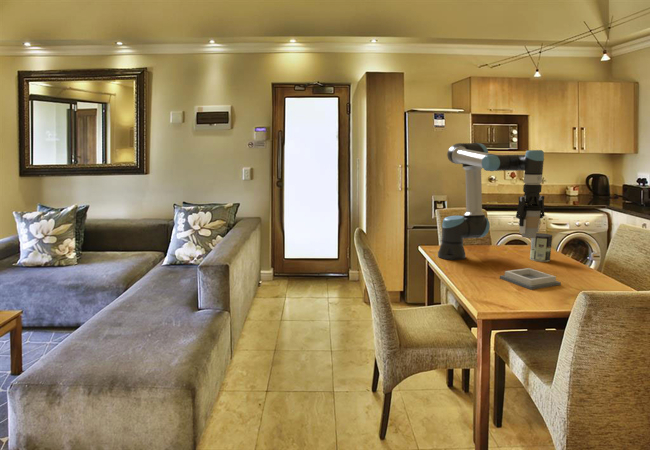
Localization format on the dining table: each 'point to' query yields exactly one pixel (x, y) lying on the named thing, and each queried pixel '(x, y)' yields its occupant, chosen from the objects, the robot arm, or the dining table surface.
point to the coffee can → (541, 247)
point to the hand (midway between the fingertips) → (529, 232)
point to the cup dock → (530, 278)
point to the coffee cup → (532, 220)
